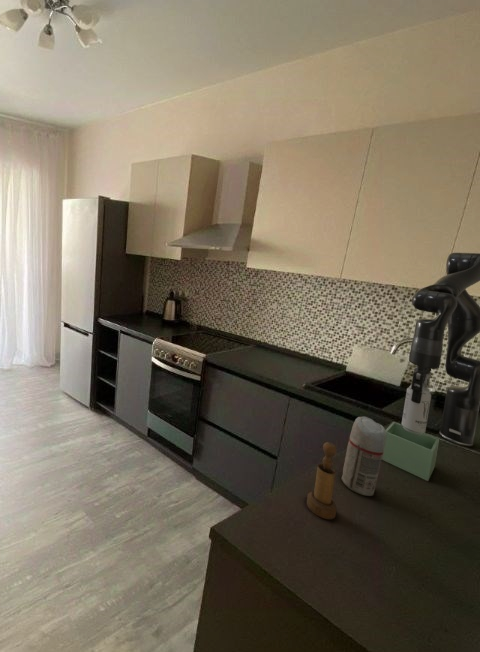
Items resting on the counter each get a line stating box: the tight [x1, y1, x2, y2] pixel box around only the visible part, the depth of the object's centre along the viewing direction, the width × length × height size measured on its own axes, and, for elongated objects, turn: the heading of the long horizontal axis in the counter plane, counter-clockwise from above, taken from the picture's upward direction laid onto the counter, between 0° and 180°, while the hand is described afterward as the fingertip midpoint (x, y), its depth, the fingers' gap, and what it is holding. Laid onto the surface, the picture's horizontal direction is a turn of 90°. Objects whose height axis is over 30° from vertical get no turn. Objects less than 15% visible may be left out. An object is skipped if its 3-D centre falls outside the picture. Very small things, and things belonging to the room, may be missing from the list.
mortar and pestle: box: [306, 441, 338, 520], centre depth 86 cm, size 7×6×18 cm
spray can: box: [340, 416, 386, 497], centre depth 96 cm, size 8×8×20 cm
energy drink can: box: [400, 383, 432, 435], centre depth 110 cm, size 6×6×15 cm
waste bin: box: [381, 421, 440, 482], centre depth 111 cm, size 12×12×10 cm
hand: (417, 399), depth 110 cm, fingers closed on energy drink can, 6 cm apart
